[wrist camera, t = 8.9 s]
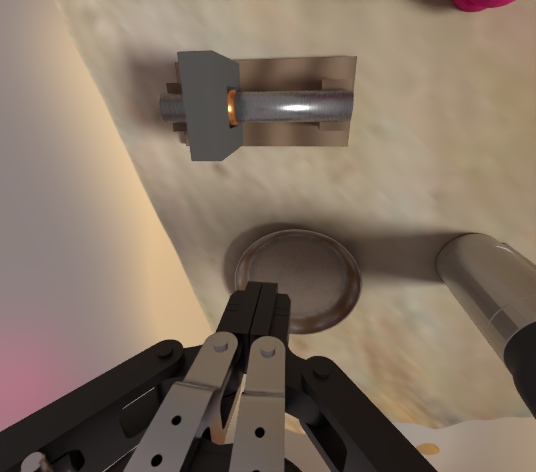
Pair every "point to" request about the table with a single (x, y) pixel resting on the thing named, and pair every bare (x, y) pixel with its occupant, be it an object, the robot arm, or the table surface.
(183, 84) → the collar
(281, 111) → the pipe
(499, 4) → the pepper mill
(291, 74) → the pipe stand
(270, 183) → the table surface
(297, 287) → the plant saucer
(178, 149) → the table surface
